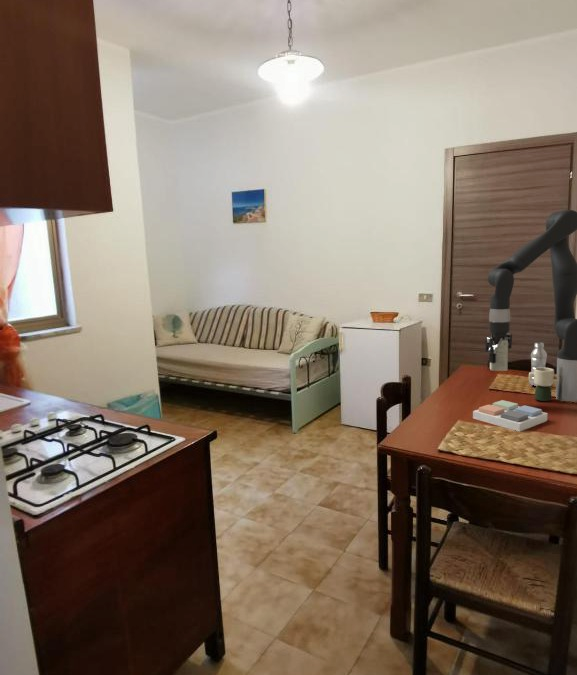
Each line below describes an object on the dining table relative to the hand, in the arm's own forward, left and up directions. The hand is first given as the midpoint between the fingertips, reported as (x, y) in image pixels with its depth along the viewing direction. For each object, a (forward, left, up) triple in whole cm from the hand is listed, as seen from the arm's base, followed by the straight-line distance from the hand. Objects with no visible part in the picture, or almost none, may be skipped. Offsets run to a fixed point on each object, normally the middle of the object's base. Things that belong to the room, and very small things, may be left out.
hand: (498, 361), depth 190 cm
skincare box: (0, 0, -4) cm, 4 cm away
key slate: (+9, +18, -15) cm, 25 cm away
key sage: (+9, +9, -15) cm, 20 cm away
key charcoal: (+17, +18, -15) cm, 29 cm away
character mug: (-18, +9, -18) cm, 27 cm away
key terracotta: (+17, +9, -15) cm, 25 cm away
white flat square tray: (+13, +14, -18) cm, 26 cm away
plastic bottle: (-35, -3, -18) cm, 39 cm away
